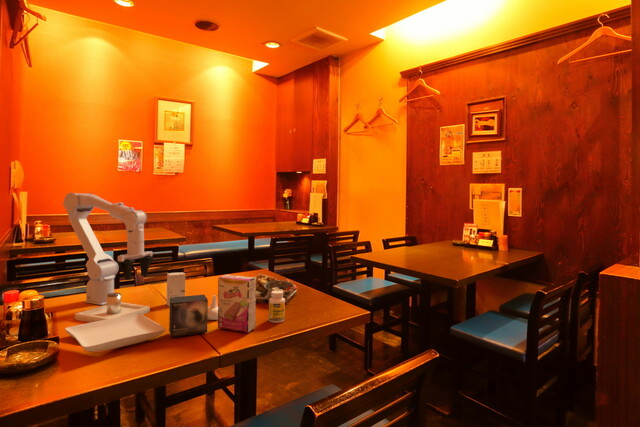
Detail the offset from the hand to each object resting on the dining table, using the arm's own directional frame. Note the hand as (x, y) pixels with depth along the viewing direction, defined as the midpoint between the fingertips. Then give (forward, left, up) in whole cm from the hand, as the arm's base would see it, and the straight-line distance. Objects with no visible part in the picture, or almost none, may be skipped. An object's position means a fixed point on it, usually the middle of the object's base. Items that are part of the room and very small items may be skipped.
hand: (136, 277), depth 141 cm
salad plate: (+22, -28, -11) cm, 37 cm away
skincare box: (+14, +6, -11) cm, 18 cm away
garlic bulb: (+36, -2, -11) cm, 38 cm away
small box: (+38, -16, -11) cm, 42 cm away
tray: (+4, -13, -10) cm, 17 cm away
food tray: (+42, +26, -11) cm, 50 cm away
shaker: (+4, -13, -9) cm, 16 cm away
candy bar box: (+50, -8, -11) cm, 51 cm away
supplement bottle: (+58, +4, -11) cm, 59 cm away
